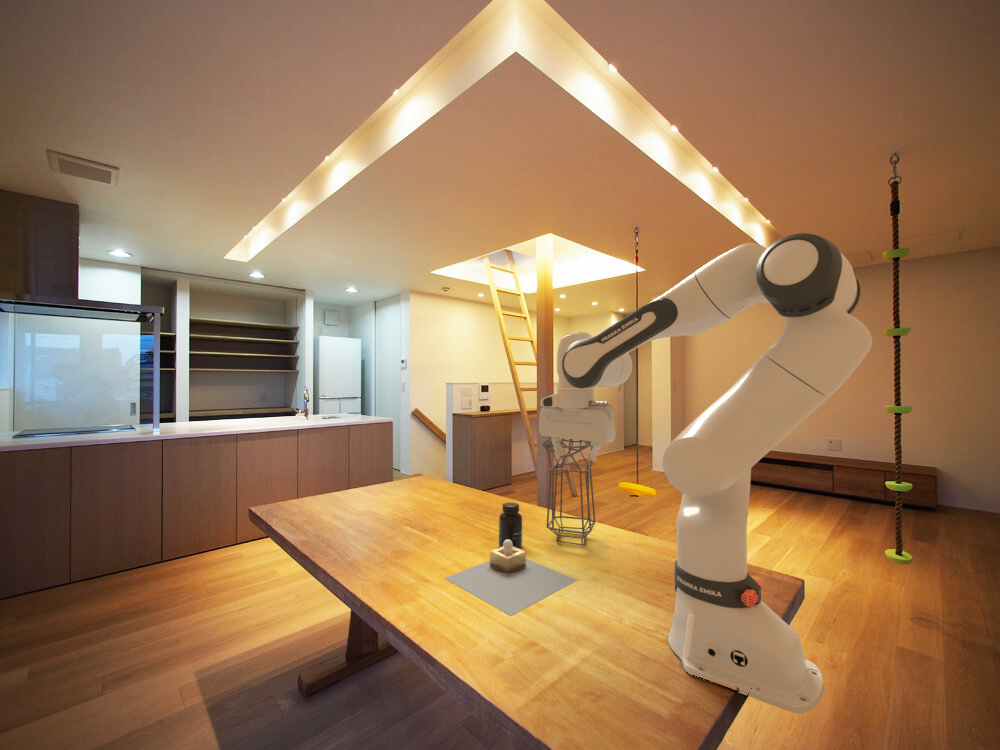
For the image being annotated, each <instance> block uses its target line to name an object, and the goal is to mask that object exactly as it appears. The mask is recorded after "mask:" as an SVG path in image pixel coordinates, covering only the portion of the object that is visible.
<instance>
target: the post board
mask: <svg viewBox="0 0 1000 750" xmlns="http://www.w3.org/2000/svg"><path fill="white" fill-rule="evenodd" d="M513 547H514V546H513V543H512V541H511V540H509V539H507V540H505V541H504V543H503V554H505V555H507V556H509V555H511V554H513ZM444 580H447V581H448V582H450V583H451V584H453V585H455V586H457V587H459V588H461V589H463V590H464V591H466V592H468V593H469V594H471V595H473V596H475V597H476V598H478V599H480V600H482V601H484V602H485V603H487V604H489V605H491V606H492V607H494V608H495V609H498V610H499V611H501V612H503V613H504V614H507V615H509V616H510V617H512V616H514V615H516V614H517V613H519V612H521V611H523V610H525V609H527V608H529V607H531V606H533V605H534V604H536V603H538V602H540V601H542V600H544V599H545V598H547V597H549V596H551V595H553V594H555V593H556V592H559V591H561V590H562V589H564V588H566V587H567V586H569V585H571V584H573V583H575V582H577V581H578V579H577V578H575V577H572V576H570V575H567V574H565V573H562V572H559V571H557V570H554V569H552V568H550V567H547V566H545V565H543V564H540V563H538V562H535V561H532V560H530V559H528V558H526V564H524V565H522V566H519V567H517V568H515V569H512V570H510V571H505V570H503V569H501V568H499V567H497V566H495V565H492V564H490V560H487V561H485V562H481V563H480V564H477V565H474V566H472V567H469V568H466V569H464V570H461V571H459V572H455V573H454V574H452V575H448V576H446V577H444Z"/></svg>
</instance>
